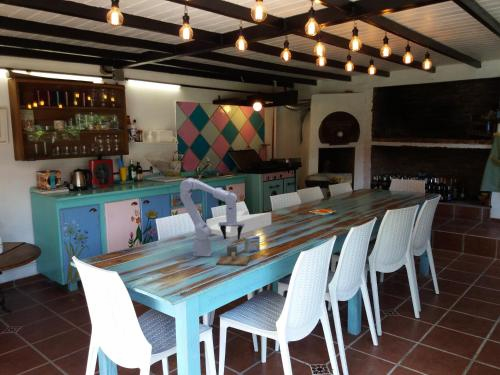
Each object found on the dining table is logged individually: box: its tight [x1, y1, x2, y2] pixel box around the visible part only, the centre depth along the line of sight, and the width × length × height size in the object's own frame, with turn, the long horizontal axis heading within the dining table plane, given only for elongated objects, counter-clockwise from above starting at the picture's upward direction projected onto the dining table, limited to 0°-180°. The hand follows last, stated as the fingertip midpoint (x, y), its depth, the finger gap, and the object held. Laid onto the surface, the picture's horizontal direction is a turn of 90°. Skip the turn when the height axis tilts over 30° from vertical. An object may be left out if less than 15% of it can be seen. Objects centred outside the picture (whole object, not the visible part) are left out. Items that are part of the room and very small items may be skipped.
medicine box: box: [243, 234, 261, 254], centre depth 233 cm, size 8×4×9 cm, turn 126°
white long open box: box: [205, 209, 272, 238], centre depth 289 cm, size 45×22×10 cm, turn 141°
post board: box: [215, 252, 251, 267], centre depth 215 cm, size 16×12×5 cm
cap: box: [226, 244, 238, 257], centre depth 226 cm, size 5×5×6 cm
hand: (231, 239), depth 225 cm, fingers open, 7 cm apart
